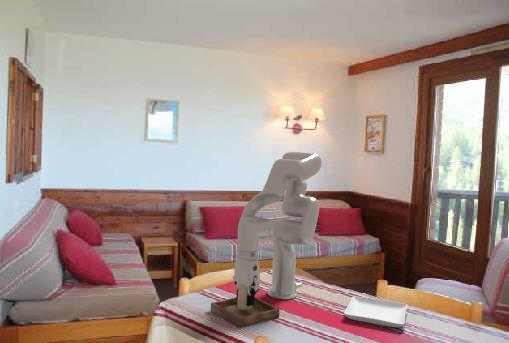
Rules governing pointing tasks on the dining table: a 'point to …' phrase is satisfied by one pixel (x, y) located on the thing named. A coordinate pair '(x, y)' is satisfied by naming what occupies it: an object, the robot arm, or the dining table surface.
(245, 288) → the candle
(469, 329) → the dining table surface
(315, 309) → the dining table surface
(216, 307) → the walnut tray
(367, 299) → the salad plate
